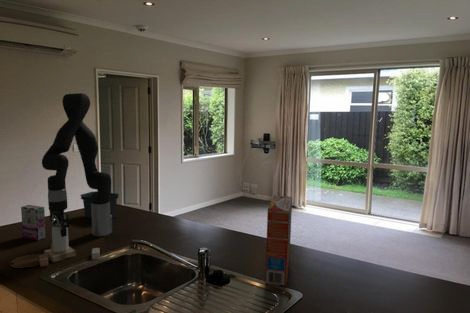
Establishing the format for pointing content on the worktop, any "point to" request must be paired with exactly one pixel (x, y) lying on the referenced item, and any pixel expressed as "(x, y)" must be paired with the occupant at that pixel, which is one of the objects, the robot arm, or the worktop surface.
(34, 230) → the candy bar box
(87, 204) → the storage bin
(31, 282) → the worktop surface
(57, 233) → the can
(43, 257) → the brick terracotta
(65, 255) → the oak pad
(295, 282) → the worktop surface
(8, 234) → the worktop surface
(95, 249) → the brick cream
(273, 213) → the pasta box
